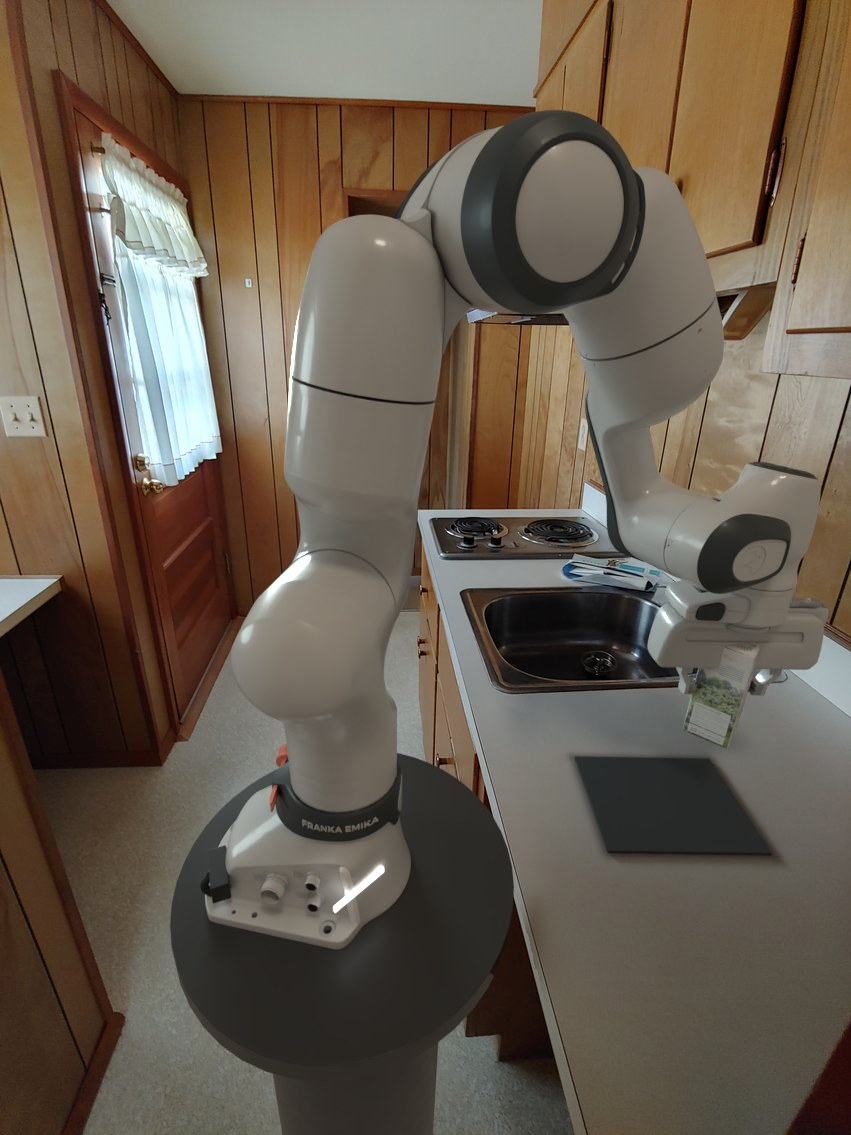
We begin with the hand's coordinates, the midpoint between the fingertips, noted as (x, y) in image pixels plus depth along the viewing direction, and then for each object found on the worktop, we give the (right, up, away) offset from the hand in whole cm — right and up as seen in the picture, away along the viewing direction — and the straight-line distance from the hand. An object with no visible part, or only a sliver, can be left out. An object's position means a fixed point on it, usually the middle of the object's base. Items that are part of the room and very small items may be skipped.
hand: (719, 692), depth 72 cm
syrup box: (0, -6, +3) cm, 6 cm away
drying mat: (-6, -15, +2) cm, 17 cm away
